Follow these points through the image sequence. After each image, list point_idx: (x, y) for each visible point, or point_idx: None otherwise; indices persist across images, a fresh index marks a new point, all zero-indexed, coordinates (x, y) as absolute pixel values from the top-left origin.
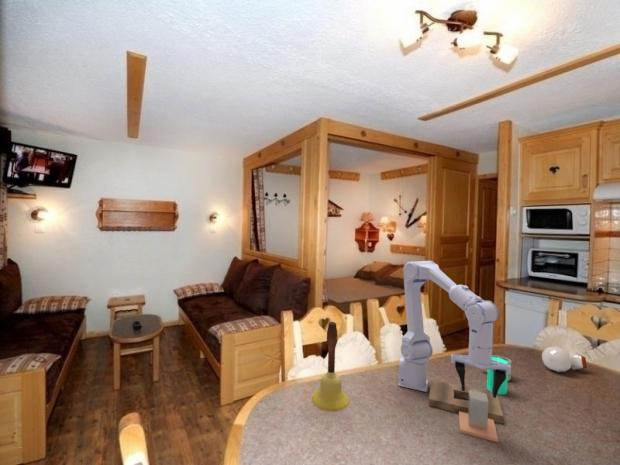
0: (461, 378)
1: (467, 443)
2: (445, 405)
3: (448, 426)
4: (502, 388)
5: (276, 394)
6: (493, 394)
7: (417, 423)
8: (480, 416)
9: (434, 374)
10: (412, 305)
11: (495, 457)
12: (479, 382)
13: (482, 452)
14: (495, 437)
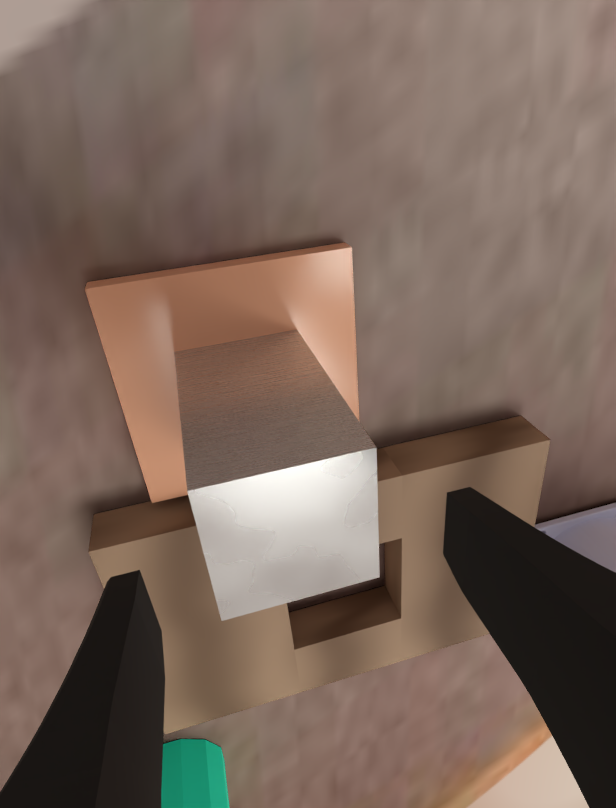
0: (608, 584)
1: (289, 126)
2: (443, 451)
3: (416, 265)
4: None
5: None
6: (137, 600)
7: (610, 169)
8: (235, 385)
9: (470, 688)
10: None
11: (70, 51)
12: (261, 765)
13: (174, 64)
14: (107, 302)
